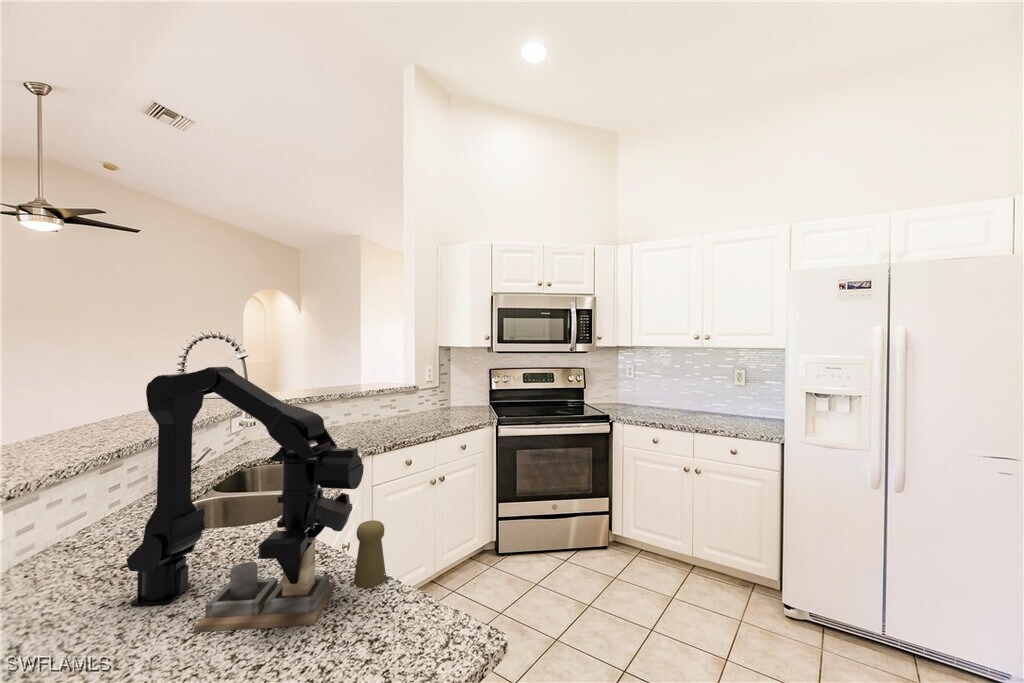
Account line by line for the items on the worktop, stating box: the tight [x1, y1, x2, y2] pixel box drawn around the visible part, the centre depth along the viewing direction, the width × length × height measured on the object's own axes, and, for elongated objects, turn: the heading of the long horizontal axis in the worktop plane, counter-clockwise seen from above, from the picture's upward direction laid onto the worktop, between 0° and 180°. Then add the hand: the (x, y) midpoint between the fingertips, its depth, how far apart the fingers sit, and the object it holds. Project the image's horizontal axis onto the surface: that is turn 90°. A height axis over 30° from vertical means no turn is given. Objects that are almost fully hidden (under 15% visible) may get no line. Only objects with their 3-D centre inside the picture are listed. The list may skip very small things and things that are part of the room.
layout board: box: [194, 561, 336, 633], centre depth 78 cm, size 18×12×7 cm, turn 97°
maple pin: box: [282, 537, 316, 596], centre depth 79 cm, size 4×4×8 cm
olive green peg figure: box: [353, 519, 387, 589], centre depth 88 cm, size 6×6×11 cm
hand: (298, 577), depth 79 cm, fingers closed on maple pin, 4 cm apart
